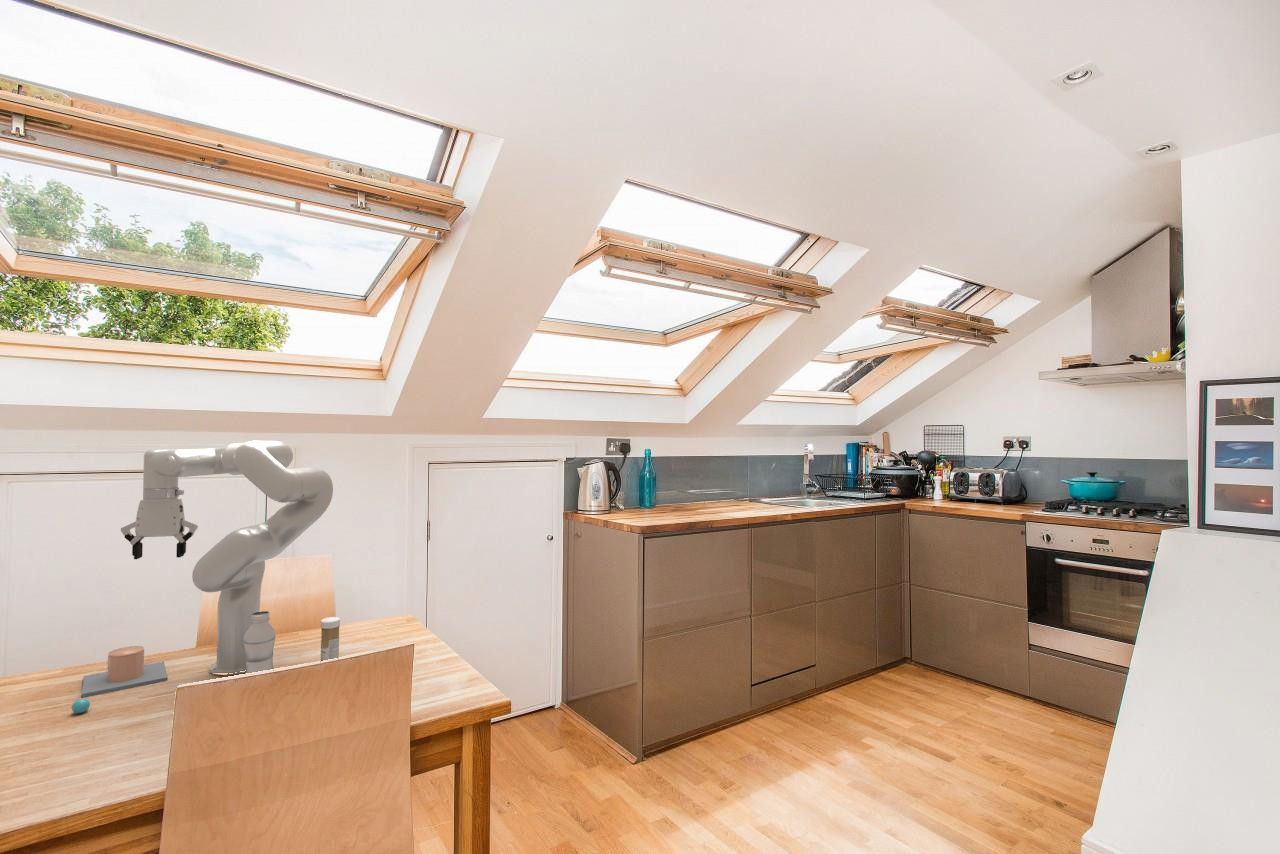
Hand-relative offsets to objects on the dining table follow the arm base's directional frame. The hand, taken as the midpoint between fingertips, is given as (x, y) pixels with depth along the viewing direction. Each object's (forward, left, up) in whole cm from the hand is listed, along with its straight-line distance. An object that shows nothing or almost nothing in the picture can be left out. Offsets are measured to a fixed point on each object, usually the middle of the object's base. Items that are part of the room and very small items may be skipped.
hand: (159, 557), depth 168 cm
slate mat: (-2, +12, -28) cm, 31 cm away
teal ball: (-8, +30, -28) cm, 42 cm away
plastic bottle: (-42, +20, -28) cm, 55 cm away
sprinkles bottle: (-49, +2, -28) cm, 57 cm away
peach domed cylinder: (-2, +12, -28) cm, 30 cm away
